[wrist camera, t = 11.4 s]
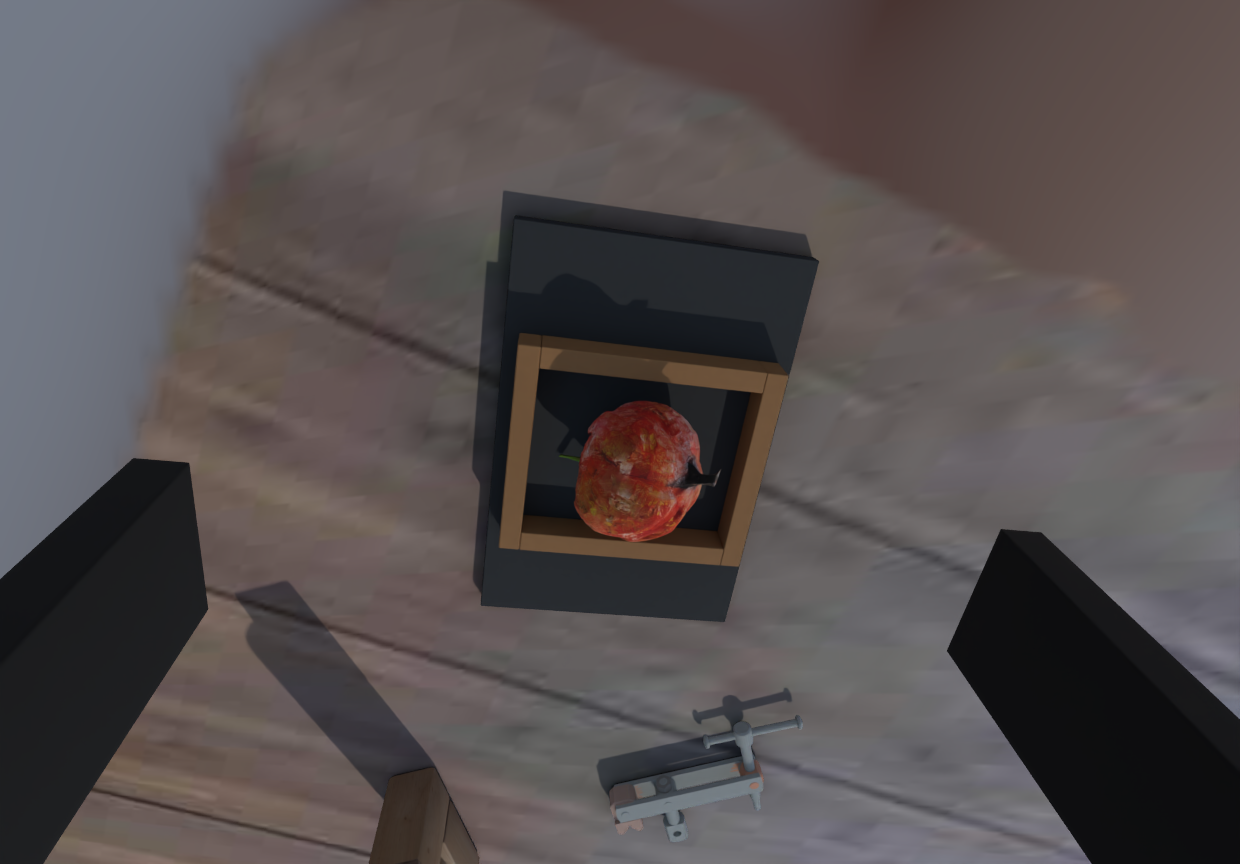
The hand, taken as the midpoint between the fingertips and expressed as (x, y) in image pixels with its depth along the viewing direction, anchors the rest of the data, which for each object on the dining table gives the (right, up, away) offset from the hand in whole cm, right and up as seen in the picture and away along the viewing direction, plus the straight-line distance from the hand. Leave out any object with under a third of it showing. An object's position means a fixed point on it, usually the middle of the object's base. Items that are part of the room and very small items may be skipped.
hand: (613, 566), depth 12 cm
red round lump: (0, +2, +30) cm, 30 cm away
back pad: (+1, +2, +31) cm, 31 cm away
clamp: (+7, -24, +43) cm, 50 cm away
